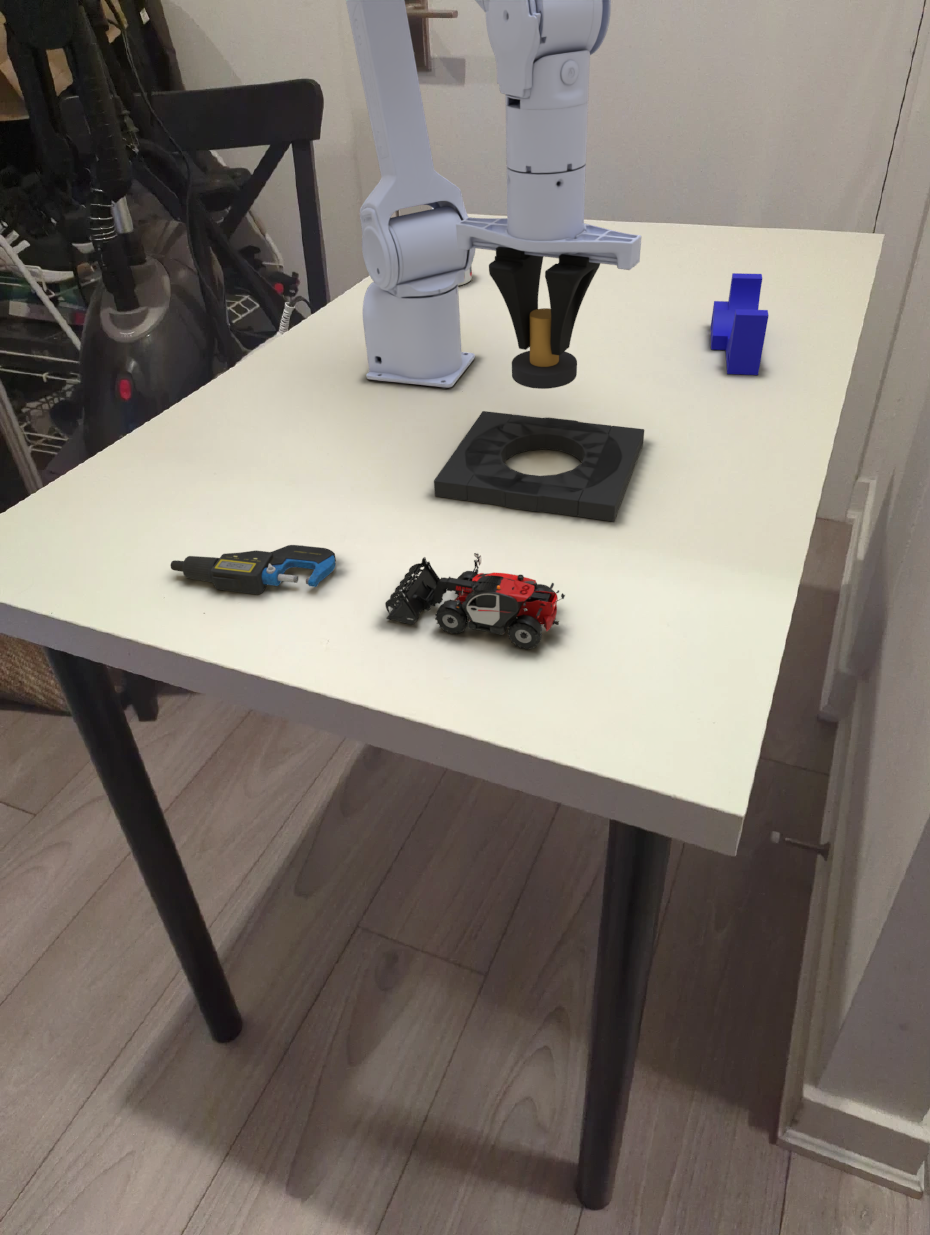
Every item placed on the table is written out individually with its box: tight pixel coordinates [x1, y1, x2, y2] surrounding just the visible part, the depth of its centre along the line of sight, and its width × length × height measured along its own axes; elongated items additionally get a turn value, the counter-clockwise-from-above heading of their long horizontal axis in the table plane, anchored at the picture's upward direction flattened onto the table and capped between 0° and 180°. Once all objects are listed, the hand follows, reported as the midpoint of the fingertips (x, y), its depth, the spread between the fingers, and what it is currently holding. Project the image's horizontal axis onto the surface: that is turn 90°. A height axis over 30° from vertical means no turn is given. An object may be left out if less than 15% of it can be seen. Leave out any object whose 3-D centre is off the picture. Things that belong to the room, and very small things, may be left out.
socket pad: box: [433, 410, 645, 522], centre depth 74 cm, size 15×13×2 cm
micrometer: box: [170, 544, 337, 595], centre depth 64 cm, size 12×2×5 cm
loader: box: [385, 552, 566, 650], centre depth 58 cm, size 12×5×5 cm, turn 69°
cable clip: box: [710, 272, 770, 376], centre depth 90 cm, size 12×4×6 cm, turn 168°
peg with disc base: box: [511, 307, 578, 390], centre depth 71 cm, size 5×5×5 cm
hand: (544, 347), depth 71 cm, fingers closed on peg with disc base, 2 cm apart
